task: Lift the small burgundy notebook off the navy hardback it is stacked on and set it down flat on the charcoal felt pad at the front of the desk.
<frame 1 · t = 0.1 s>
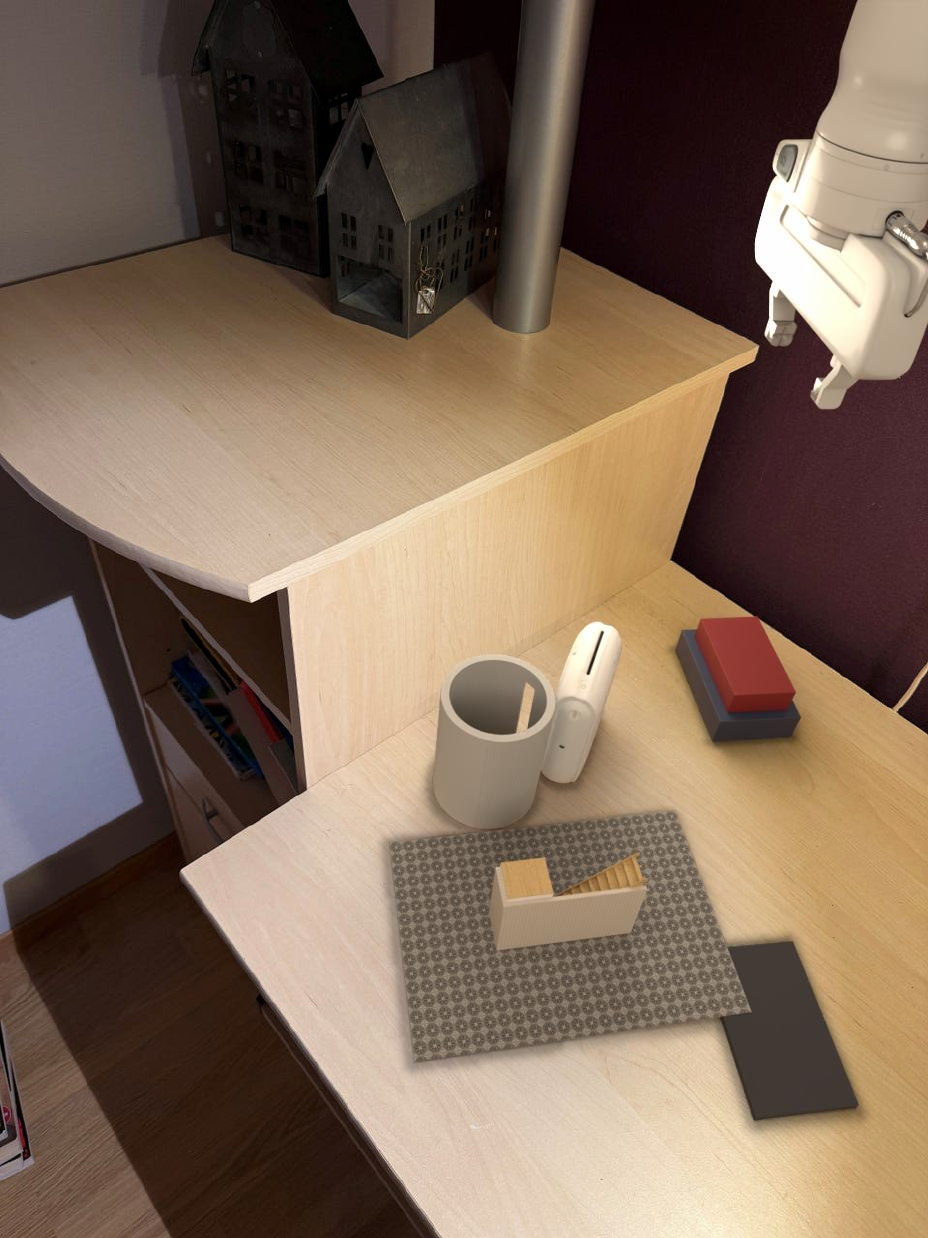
hand: (798, 371, 71), 33 cm above the table, tool pointing down, fingers open, 8 cm apart
model: (559, 923, 71), on the table, touching felt pad
burgundy notebook: (739, 671, 88), point 3 cm above the table, touching navy hardback
photo printer: (568, 742, 84), on the table
felt pad: (773, 1026, 67), on the table
cup: (484, 785, 80), on the table
navy hardback: (730, 691, 90), on the table, touching burgundy notebook
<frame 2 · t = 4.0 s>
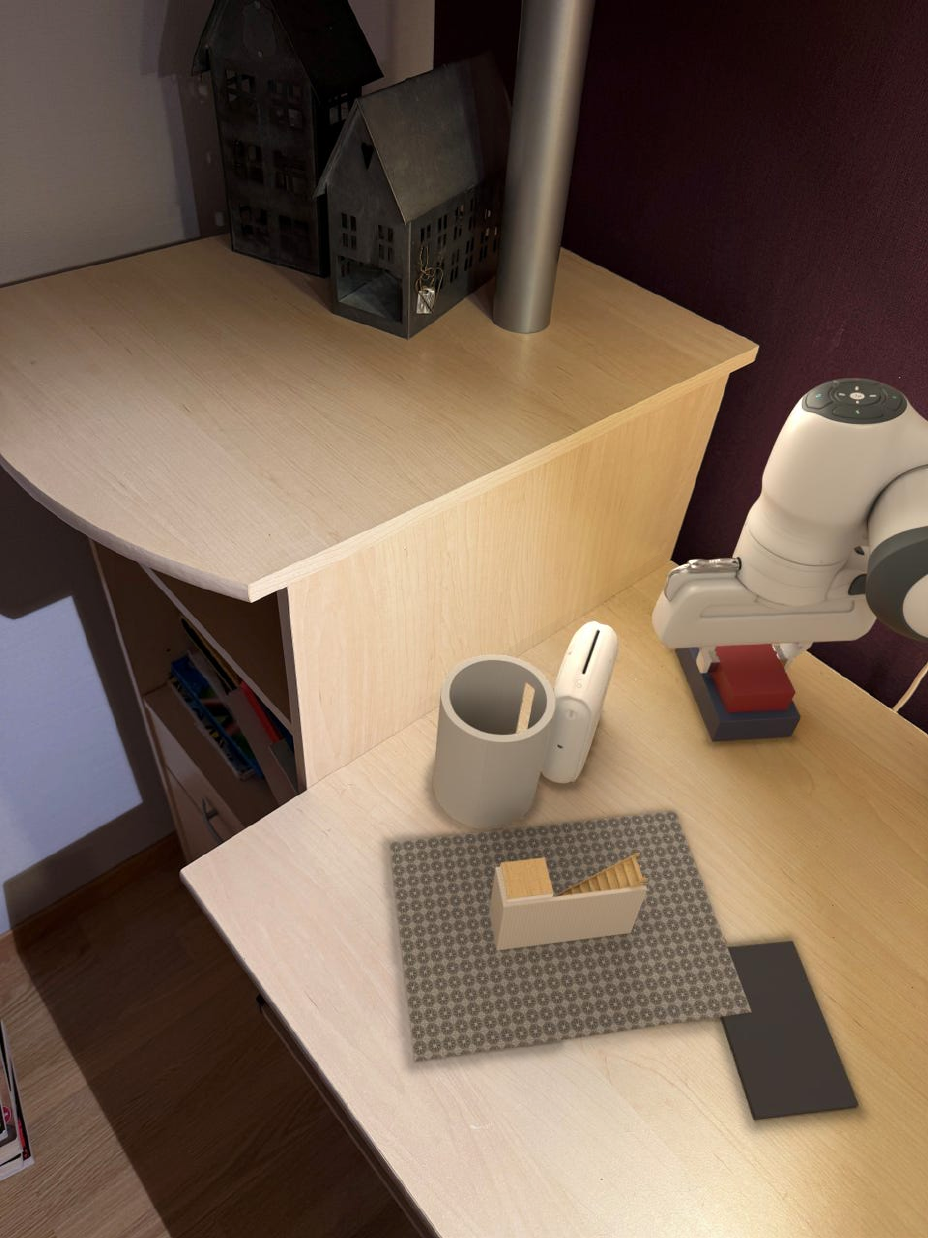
hand: (741, 666, 88), 4 cm above the table, tool pointing down, fingers closed on burgundy notebook, 6 cm apart
burgundy notebook: (739, 671, 88), point 3 cm above the table, touching gripper, navy hardback
everything else where it was.
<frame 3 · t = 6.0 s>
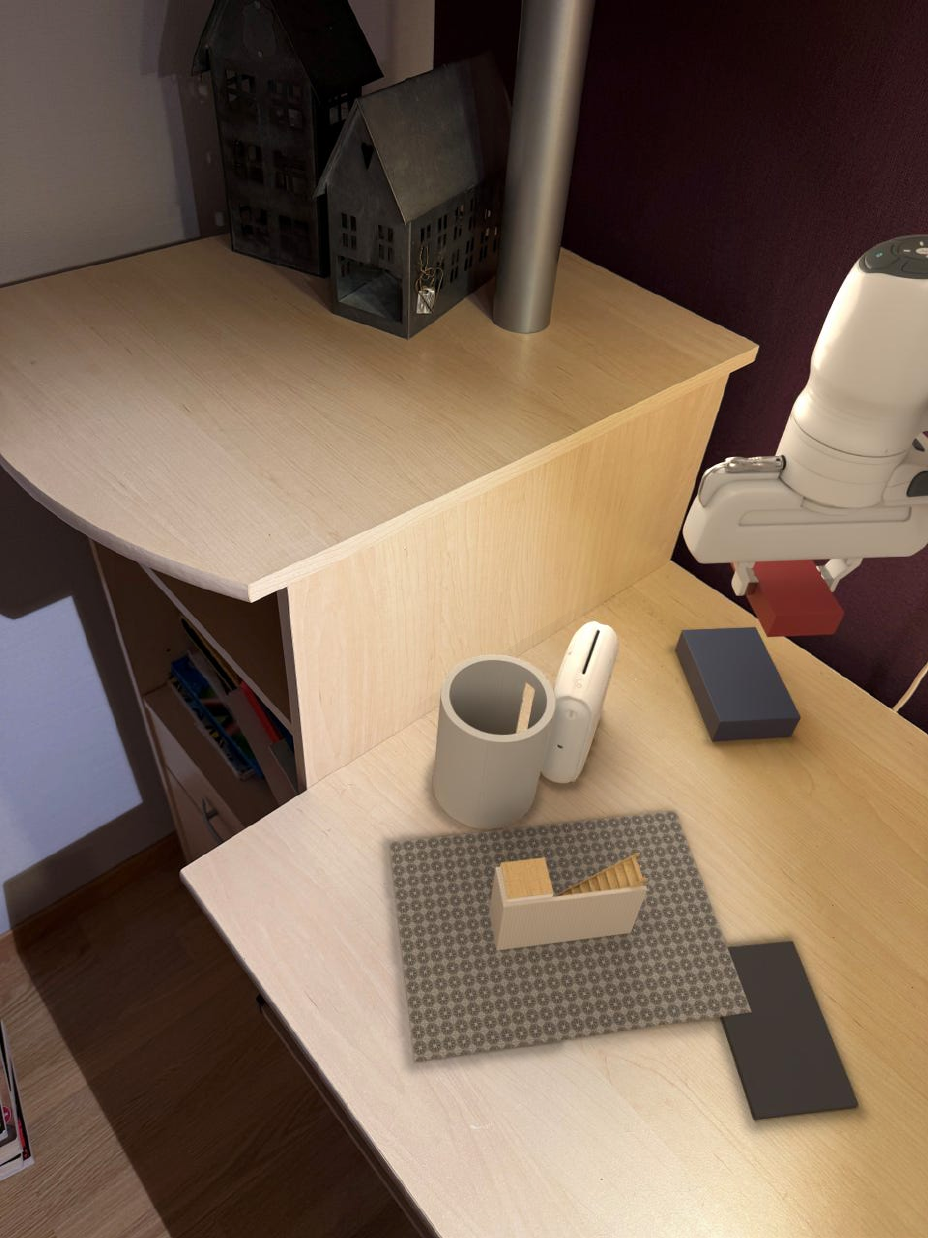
hand: (782, 589, 79), 15 cm above the table, tool pointing down, fingers closed on burgundy notebook, 6 cm apart
burgundy notebook: (778, 595, 80), point 14 cm above the table, touching gripper
navy hardback: (730, 691, 90), on the table
everything else where it was.
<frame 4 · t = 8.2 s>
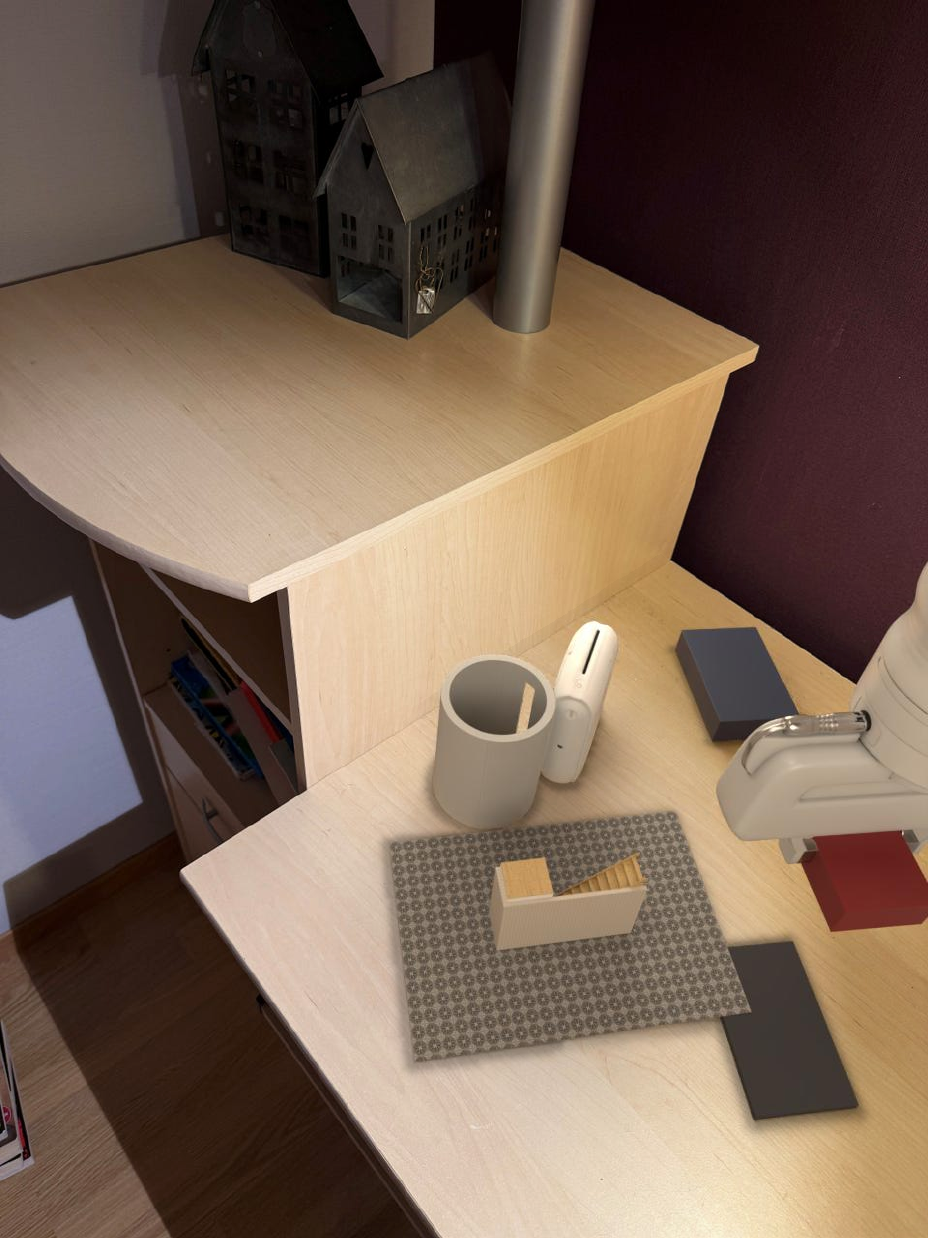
hand: (847, 849, 58), 17 cm above the table, tool pointing down, fingers closed on burgundy notebook, 6 cm apart
burgundy notebook: (842, 855, 59), point 16 cm above the table, touching gripper
everything else where it was.
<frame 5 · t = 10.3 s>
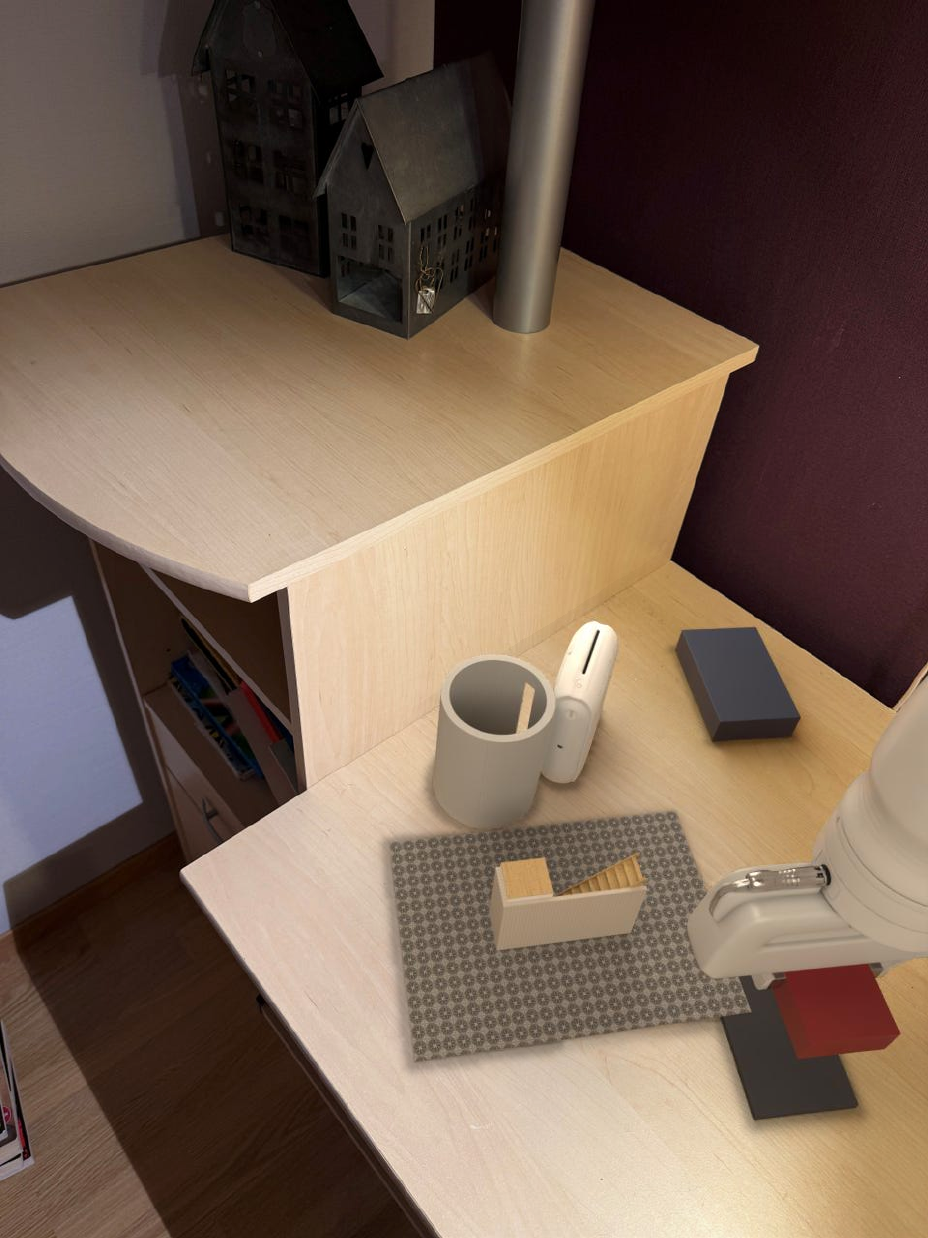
hand: (814, 973, 61), 9 cm above the table, tool pointing down, fingers closed on burgundy notebook, 6 cm apart
burgundy notebook: (810, 977, 61), point 8 cm above the table, touching gripper
everything else where it was.
when the fingers open (2 cm above the table, at t = 12.5 s): burgundy notebook stays where it is, resting on felt pad.
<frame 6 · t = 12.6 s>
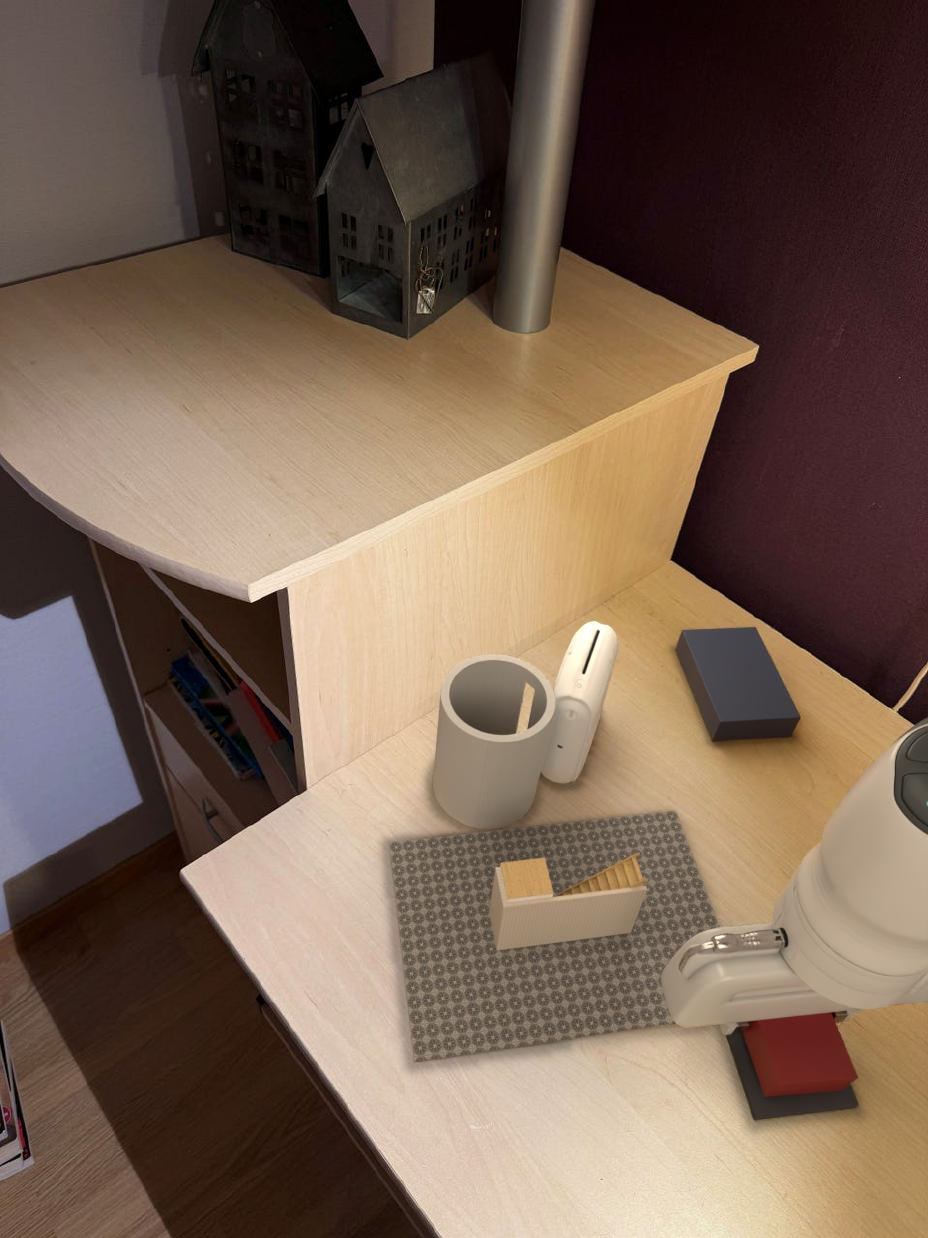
hand: (780, 1018, 66), 2 cm above the table, tool pointing down, fingers open, 7 cm apart
burgundy notebook: (776, 1021, 66), point 1 cm above the table, tilted 7°, touching felt pad
everything else where it was.
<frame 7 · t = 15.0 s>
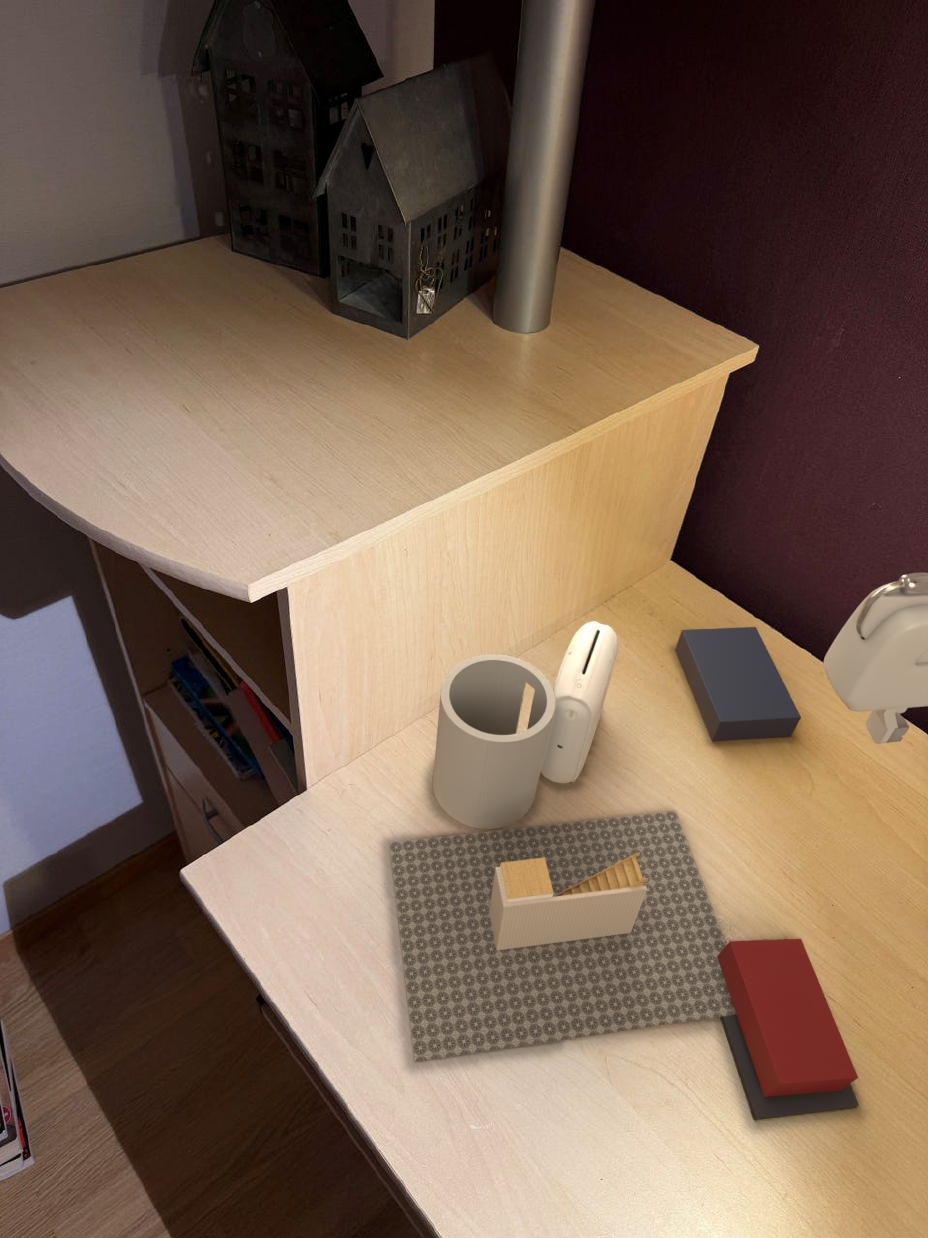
model: (559, 923, 71), on the table, touching burgundy notebook, felt pad
burgundy notebook: (776, 1021, 66), point 1 cm above the table, tilted 7°, touching model, felt pad
everything else where it was.
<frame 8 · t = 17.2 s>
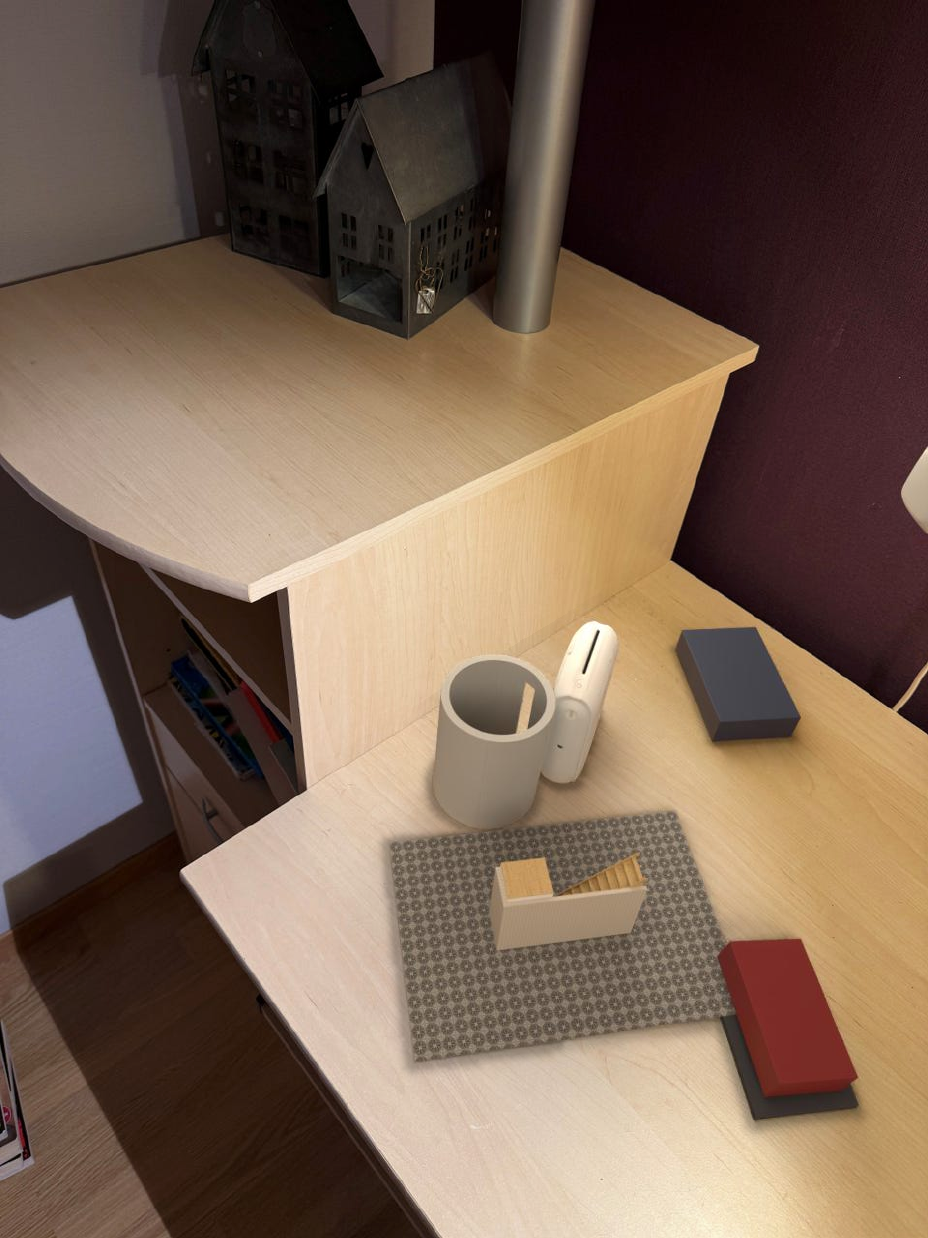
nothing on the table moved.
at the end: burgundy notebook 0.1 cm off-centre on the felt pad, point 1.0 cm above the felt pad's base; burgundy notebook touching model, felt pad; navy hardback moved 0.0 cm from its start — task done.
